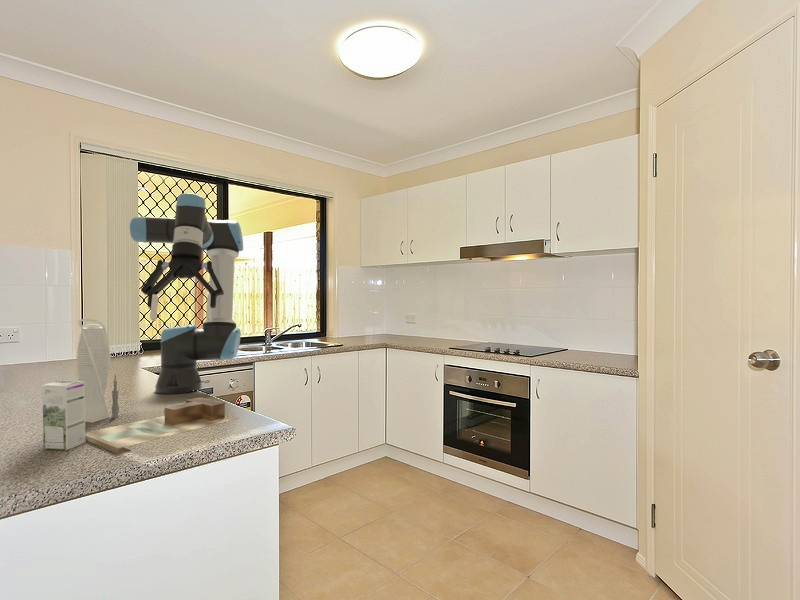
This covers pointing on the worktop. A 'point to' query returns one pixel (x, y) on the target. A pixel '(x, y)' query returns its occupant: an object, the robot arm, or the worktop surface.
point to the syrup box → (63, 415)
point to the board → (143, 432)
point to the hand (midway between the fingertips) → (181, 319)
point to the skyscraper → (95, 371)
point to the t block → (194, 411)
